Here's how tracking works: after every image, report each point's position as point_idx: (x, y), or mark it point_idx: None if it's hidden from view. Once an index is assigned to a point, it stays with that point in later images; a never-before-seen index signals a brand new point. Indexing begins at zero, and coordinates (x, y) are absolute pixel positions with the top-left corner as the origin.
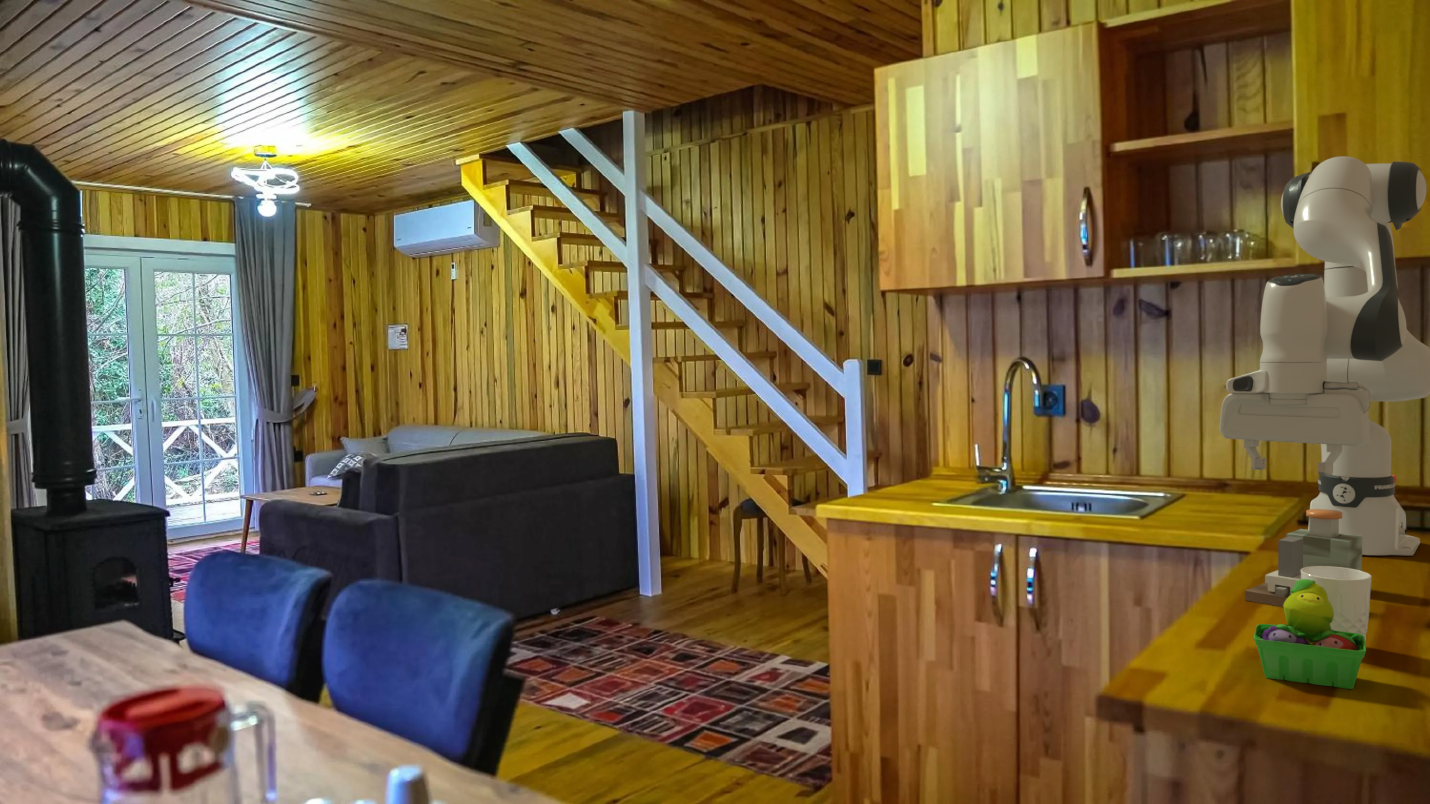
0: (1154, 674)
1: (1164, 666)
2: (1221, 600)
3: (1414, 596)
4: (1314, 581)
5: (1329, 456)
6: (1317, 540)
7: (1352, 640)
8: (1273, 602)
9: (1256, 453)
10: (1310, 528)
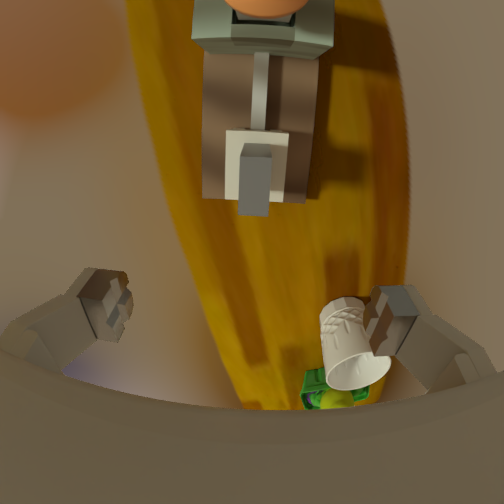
0: (254, 404)
1: (252, 395)
2: (183, 214)
3: (382, 21)
4: None
5: (421, 379)
6: (264, 39)
7: (362, 389)
8: None
9: (70, 330)
10: (239, 14)
